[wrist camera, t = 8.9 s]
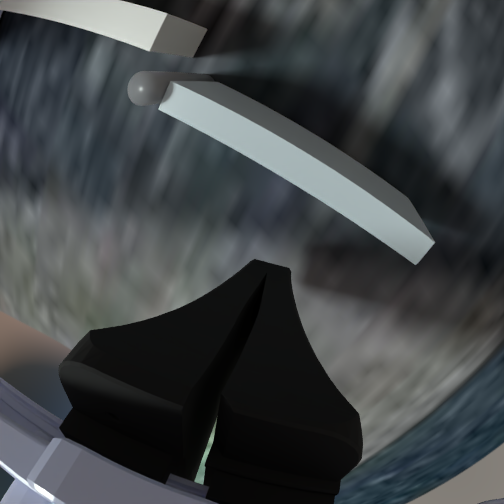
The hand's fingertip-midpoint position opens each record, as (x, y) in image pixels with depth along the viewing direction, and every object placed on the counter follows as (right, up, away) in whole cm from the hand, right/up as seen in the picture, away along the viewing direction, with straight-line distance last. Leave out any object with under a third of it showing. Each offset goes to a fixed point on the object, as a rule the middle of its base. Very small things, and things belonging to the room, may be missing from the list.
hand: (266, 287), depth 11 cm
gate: (+1, +5, -1) cm, 5 cm away
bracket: (-2, +18, -7) cm, 19 cm away
